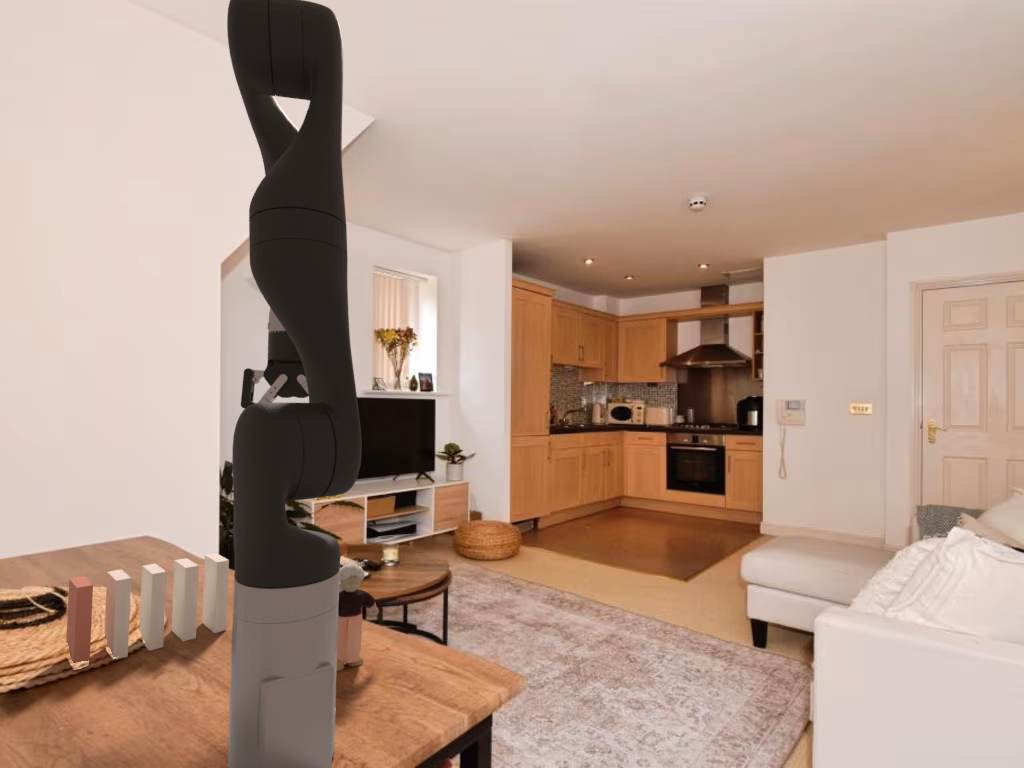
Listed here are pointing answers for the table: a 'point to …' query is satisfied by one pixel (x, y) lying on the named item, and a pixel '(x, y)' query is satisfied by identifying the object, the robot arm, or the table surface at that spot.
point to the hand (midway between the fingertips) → (292, 437)
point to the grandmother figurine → (351, 615)
